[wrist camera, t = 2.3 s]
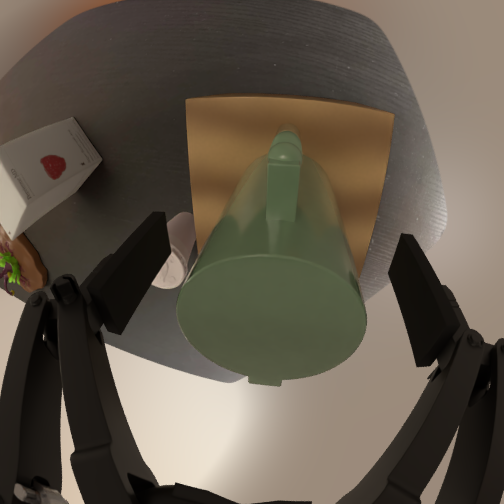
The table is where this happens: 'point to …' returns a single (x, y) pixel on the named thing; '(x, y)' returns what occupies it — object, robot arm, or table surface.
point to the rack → (313, 145)
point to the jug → (276, 274)
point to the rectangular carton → (42, 172)
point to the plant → (21, 263)
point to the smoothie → (177, 251)
